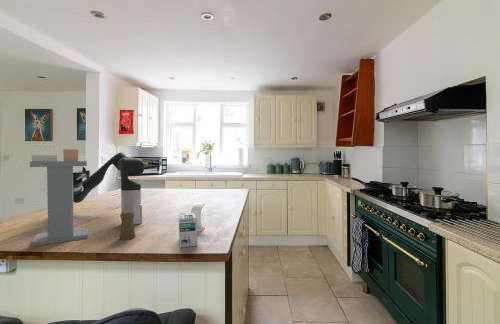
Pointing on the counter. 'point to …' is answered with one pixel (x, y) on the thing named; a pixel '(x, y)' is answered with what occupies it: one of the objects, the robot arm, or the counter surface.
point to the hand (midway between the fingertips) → (73, 168)
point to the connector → (70, 154)
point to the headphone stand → (198, 214)
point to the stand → (59, 200)
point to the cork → (127, 226)
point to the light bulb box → (187, 229)
